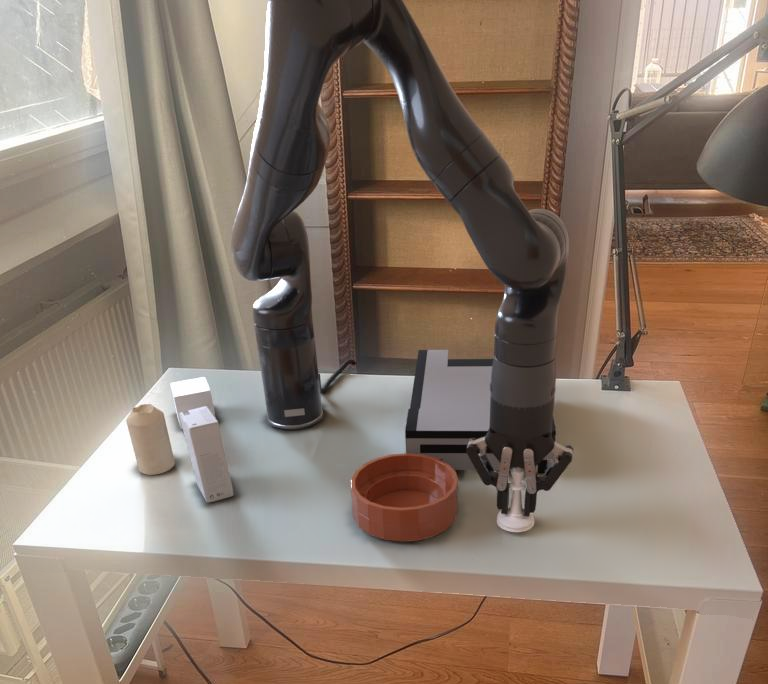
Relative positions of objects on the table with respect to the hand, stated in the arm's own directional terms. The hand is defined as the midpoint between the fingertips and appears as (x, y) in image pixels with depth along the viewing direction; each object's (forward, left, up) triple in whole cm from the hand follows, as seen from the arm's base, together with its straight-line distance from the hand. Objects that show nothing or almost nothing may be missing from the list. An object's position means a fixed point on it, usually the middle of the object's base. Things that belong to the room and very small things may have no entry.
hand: (515, 511), depth 102 cm
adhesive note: (-22, -57, -2) cm, 61 cm away
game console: (-26, -9, -2) cm, 28 cm away
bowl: (0, -15, -2) cm, 15 cm away
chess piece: (0, 0, -2) cm, 2 cm away
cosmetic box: (-1, -44, -2) cm, 44 cm away
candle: (-6, -56, -2) cm, 56 cm away
